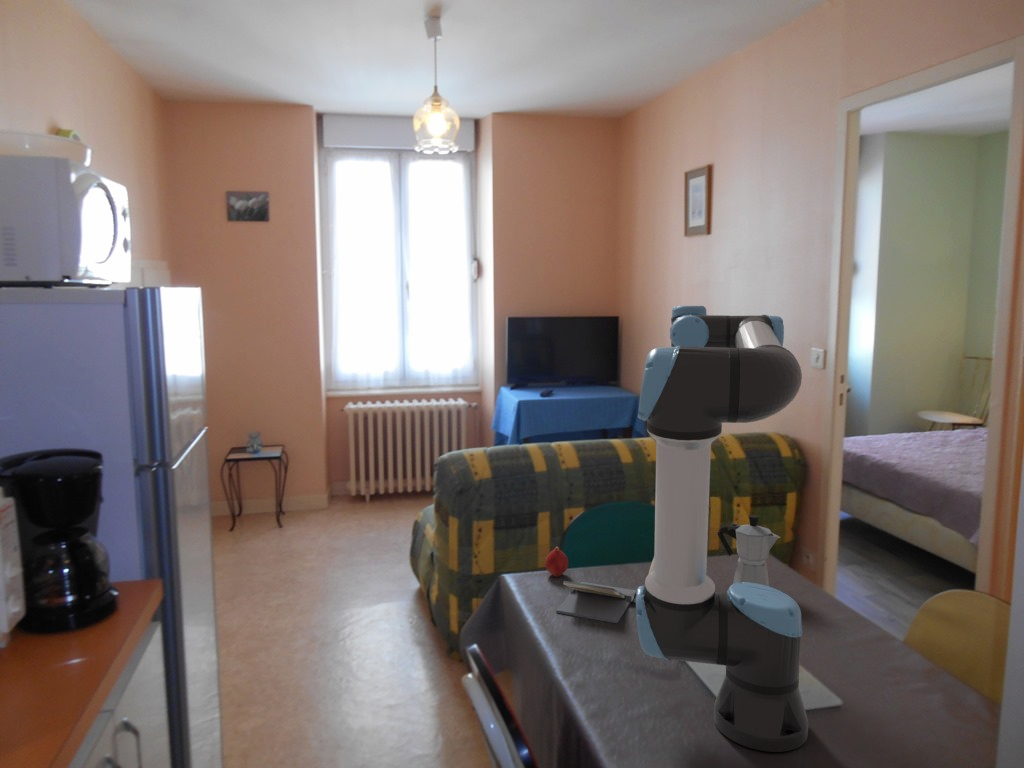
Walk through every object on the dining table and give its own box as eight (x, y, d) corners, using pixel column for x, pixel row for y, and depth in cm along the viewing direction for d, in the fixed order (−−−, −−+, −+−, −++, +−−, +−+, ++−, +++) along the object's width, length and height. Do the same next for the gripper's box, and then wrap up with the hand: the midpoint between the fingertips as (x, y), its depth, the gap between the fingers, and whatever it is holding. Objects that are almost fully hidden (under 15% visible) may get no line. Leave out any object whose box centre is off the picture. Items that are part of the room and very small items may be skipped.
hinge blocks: (631, 602, 165) (631, 596, 165) (569, 592, 171) (569, 586, 171) (633, 598, 167) (633, 592, 167) (572, 588, 173) (572, 582, 173)
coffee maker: (782, 587, 175) (785, 515, 173) (774, 599, 168) (777, 524, 166) (721, 574, 183) (723, 506, 181) (710, 586, 176) (713, 514, 174)
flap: (626, 595, 167) (626, 599, 167) (578, 587, 172) (577, 591, 171) (614, 588, 156) (613, 592, 156) (562, 580, 161) (562, 584, 160)
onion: (541, 574, 184) (542, 544, 183) (562, 571, 185) (563, 541, 184) (549, 582, 178) (550, 551, 177) (571, 579, 180) (571, 549, 179)
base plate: (617, 623, 155) (617, 620, 155) (556, 612, 161) (556, 610, 161) (636, 592, 172) (636, 590, 172) (580, 583, 177) (580, 581, 177)
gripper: (700, 378, 152) (697, 487, 155) (708, 373, 164) (705, 474, 167) (664, 377, 155) (662, 483, 158) (675, 372, 167) (673, 471, 170)
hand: (684, 478), depth 162 cm, fingers closed
